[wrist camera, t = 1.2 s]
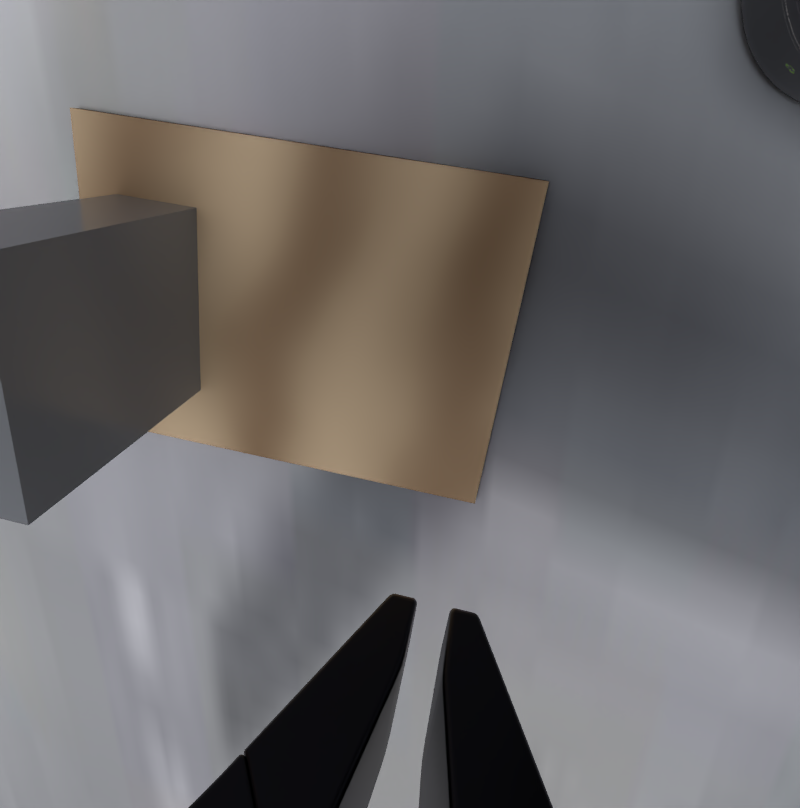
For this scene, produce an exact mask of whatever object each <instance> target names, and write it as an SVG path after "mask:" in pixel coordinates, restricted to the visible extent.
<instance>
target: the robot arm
mask: <svg viewBox="0 0 800 808" xmlns="http://www.w3.org/2000/svg"><path fill="white" fill-rule="evenodd" d="M416 606H417V602H416V600H415V599H414V598H410V597H406V596H402V595H398V594H392V595H390V596H389V597H388V598H387V599H386V600H385V601H384V602H383V603H382V604H381V605H380V606H379V607H378V608H377V609H376V610H375V612H374V613H373V614H372V615H371V616H370V617H369V618H368V619H367V620H366V621H365V622H364V623H363V624H362V625H361V626H360V628H359V629H358V630H357V631H356V632H355V633H354V634H353V635H352V636H351V637H350V638H349V639H348V640H347V641H346V642H345V643H344V645H343V646H342V647H341V648H340V649H339V650H338V651H337V652H336V653H335V654H334V655H333V656H332V657H331V658H330V659H329V661H328V662H327V663H326V664H325V665H324V666H323V667H322V668H321V669H320V670H319V671H318V672H317V673H316V674H315V675H314V677H313V678H312V679H311V680H310V681H309V682H308V683H307V684H306V685H305V686H304V687H303V688H302V689H301V690H300V691H299V693H298V694H297V695H296V696H295V697H294V698H293V699H292V700H291V701H290V702H289V703H288V704H287V705H286V706H285V707H284V709H283V710H282V711H281V712H280V713H279V714H278V715H277V716H276V717H275V718H274V719H273V720H272V721H271V722H270V723H269V725H268V726H267V727H266V728H265V729H264V730H263V731H262V732H261V733H260V734H259V735H258V736H257V737H256V738H255V739H254V741H253V742H252V743H251V744H250V745H249V746H248V747H247V748H246V749H245V751H244V755H239V756H238V757H237V758H236V759H235V760H234V761H233V763H232V764H231V765H230V766H229V767H228V768H227V769H226V770H225V771H224V772H223V773H222V774H221V775H220V776H219V777H218V778H217V779H216V780H215V782H214V783H213V784H212V785H211V786H210V787H209V788H208V789H207V790H206V791H205V792H204V793H203V794H202V795H201V796H200V797H199V798H198V799H197V800H196V801H195V802H194V803H193V804H192V805H191V806H190V807H189V808H367V807H368V804H369V801H370V798H371V795H372V792H373V789H374V786H375V783H376V780H377V777H378V774H379V771H380V768H381V765H382V762H383V759H384V755H385V752H386V748H387V744H388V740H389V736H390V732H391V727H392V722H393V718H394V713H395V708H396V704H397V699H398V694H399V690H400V685H401V680H402V676H403V671H404V666H405V662H406V657H407V652H408V647H409V643H410V638H411V632H412V627H413V622H414V617H415V612H416ZM419 808H553V807H552V804H551V802H550V799H549V796H548V794H547V791H546V789H545V786H544V784H543V781H542V778H541V776H540V773H539V771H538V768H537V765H536V763H535V760H534V758H533V755H532V753H531V750H530V747H529V745H528V742H527V740H526V737H525V735H524V732H523V729H522V727H521V724H520V722H519V719H518V717H517V714H516V711H515V709H514V706H513V704H512V701H511V699H510V696H509V693H508V691H507V688H506V686H505V683H504V681H503V678H502V675H501V673H500V670H499V668H498V665H497V663H496V660H495V657H494V655H493V652H492V650H491V647H490V645H489V642H488V639H487V637H486V634H485V632H484V629H483V626H482V624H481V621H480V619H479V617H478V615H476V614H475V613H472V612H468V611H464V610H460V609H455V608H454V609H452V610H451V611H450V613H449V617H448V622H447V626H446V631H445V635H444V639H443V644H442V648H441V653H440V658H439V664H438V670H437V676H436V681H435V687H434V693H433V699H432V704H431V710H430V716H429V722H428V727H427V733H426V739H425V745H424V752H423V759H422V769H421V781H420V798H419Z"/></svg>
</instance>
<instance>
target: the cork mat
mask: <svg viewBox="0 0 800 808" xmlns="http://www.w3.org/2000/svg"><path fill="white" fill-rule="evenodd" d="M70 112H71V122H72V131H73V140H74V150H75V159H76V168H77V177H78V187H79V196H80V199H83V198H90V197H98V196H105V195H112V194H120V195H126V196H132V197H138V198H144V199H149V200H155V201H161V202H167V203H173V204H179V205H184V206H190V207H196V208H197V249H198V292H199V336H200V379H201V390H200V391H199V392H198V393H196V394H195V395H194V396H192V397H191V398H190V399H189V400H187V401H186V402H185V403H184V404H182V405H181V406H180V407H178V408H177V409H176V410H175V411H173V412H172V413H171V414H170V415H168V416H167V417H166V418H164V419H163V420H162V421H161V422H159V423H158V424H157V425H156V426H154V427H153V428H152V429H150V430H149V431H148V432H153V433H157V434H162V435H166V436H171V437H175V438H180V439H184V440H189V441H193V442H198V443H202V444H207V445H212V446H216V447H221V448H225V449H230V450H234V451H239V452H243V453H248V454H252V455H257V456H261V457H266V458H271V459H275V460H280V461H284V462H289V463H293V464H298V465H302V466H307V467H311V468H316V469H320V470H325V471H330V472H334V473H339V474H343V475H348V476H352V477H357V478H361V479H366V480H370V481H375V482H379V483H384V484H388V485H393V486H398V487H402V488H407V489H411V490H416V491H420V492H425V493H429V494H434V495H438V496H443V497H447V498H452V499H457V500H461V501H466V502H470V503H475V500H476V496H477V492H478V487H479V483H480V479H481V474H482V470H483V466H484V461H485V457H486V453H487V448H488V444H489V440H490V435H491V431H492V427H493V422H494V418H495V414H496V409H497V405H498V401H499V396H500V392H501V388H502V383H503V379H504V375H505V370H506V366H507V361H508V357H509V353H510V348H511V344H512V340H513V335H514V331H515V327H516V322H517V318H518V314H519V309H520V305H521V301H522V296H523V292H524V288H525V283H526V279H527V275H528V270H529V266H530V262H531V257H532V253H533V249H534V244H535V240H536V236H537V231H538V227H539V223H540V218H541V214H542V210H543V205H544V201H545V197H546V192H547V188H548V184H549V181H545V180H539V179H532V178H526V177H519V176H513V175H506V174H500V173H493V172H487V171H480V170H474V169H467V168H461V167H454V166H448V165H442V164H435V163H429V162H422V161H416V160H409V159H403V158H396V157H390V156H383V155H377V154H370V153H364V152H357V151H351V150H344V149H338V148H331V147H325V146H318V145H312V144H305V143H299V142H292V141H286V140H279V139H273V138H267V137H260V136H254V135H247V134H241V133H234V132H228V131H221V130H215V129H208V128H202V127H195V126H189V125H182V124H176V123H169V122H163V121H156V120H150V119H143V118H137V117H130V116H124V115H117V114H111V113H104V112H98V111H92V110H85V109H79V108H70Z"/></svg>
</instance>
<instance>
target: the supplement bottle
mask: <svg viewBox="0 0 800 808" xmlns="http://www.w3.org/2000/svg"><path fill="white" fill-rule="evenodd" d="M741 4H742V18H743V25H744V30H745V35H746V38H747V41H748V44H749V47H750V50H751V52H752V54H753V56H754V58H755V60H756V62H757V64H758V65H759V67H760V68H761V70H762V71H763V73H764V74H765V75H766V76H767V77H768V79H769V80H770V81H771V82H772V83H773V84H774V85H775V86H776V87H778V88H779V89H780V90H781V91H783V92H784V93H785V94H787V95H788V96H790V97H792V98H794V99H795V100H797V101H799V102H800V0H741Z"/></svg>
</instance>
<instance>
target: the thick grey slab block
mask: <svg viewBox="0 0 800 808" xmlns="http://www.w3.org/2000/svg"><path fill="white" fill-rule="evenodd" d="M200 390H201V379H200V336H199V292H198V249H197V208H196V207H190V206H184V205H179V204H173V203H167V202H161V201H155V200H149V199H144V198H138V197H132V196H126V195H120V194H112V195H105V196H98V197H90V198H83V199H75V200H68V201H61V202H53V203H46V204H38V205H31V206H24V207H16V208H9V209H1V210H0V518H1V519H5V520H9V521H13V522H17V523H21V524H25V525H29V524H31V523H32V522H33V521H34V520H36V519H37V518H38V517H39V516H41V515H42V514H43V513H45V512H46V511H47V510H48V509H50V508H51V507H52V506H53V505H55V504H56V503H57V502H59V501H60V500H61V499H62V498H64V497H65V496H66V495H68V494H69V493H70V492H71V491H73V490H74V489H75V488H76V487H78V486H79V485H80V484H82V483H83V482H84V481H85V480H87V479H88V478H89V477H90V476H92V475H93V474H94V473H96V472H97V471H98V470H99V469H101V468H102V467H103V466H105V465H106V464H107V463H108V462H110V461H111V460H112V459H113V458H115V457H116V456H117V455H119V454H120V453H121V452H122V451H124V450H125V449H126V448H127V447H129V446H130V445H131V444H133V443H134V442H135V441H136V440H138V439H139V438H140V437H141V436H143V435H144V434H145V433H147V432H148V431H149V430H150V429H152V428H153V427H154V426H156V425H157V424H158V423H159V422H161V421H162V420H163V419H164V418H166V417H167V416H168V415H170V414H171V413H172V412H173V411H175V410H176V409H177V408H178V407H180V406H181V405H182V404H184V403H185V402H186V401H187V400H189V399H190V398H191V397H192V396H194V395H195V394H196V393H198V392H199V391H200Z"/></svg>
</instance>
